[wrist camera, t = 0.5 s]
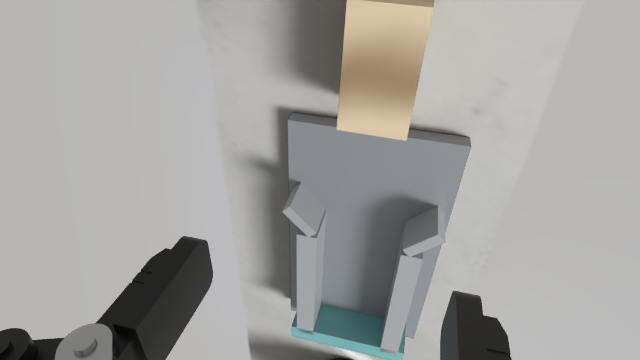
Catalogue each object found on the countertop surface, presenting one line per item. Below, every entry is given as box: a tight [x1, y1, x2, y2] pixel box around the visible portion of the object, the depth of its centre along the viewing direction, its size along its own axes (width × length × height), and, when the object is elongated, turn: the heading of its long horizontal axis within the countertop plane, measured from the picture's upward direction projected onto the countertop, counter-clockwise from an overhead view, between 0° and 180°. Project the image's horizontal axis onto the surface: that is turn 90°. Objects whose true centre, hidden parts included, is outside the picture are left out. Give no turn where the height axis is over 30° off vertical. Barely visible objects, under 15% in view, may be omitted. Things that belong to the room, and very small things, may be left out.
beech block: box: [337, 0, 434, 141], centre depth 22 cm, size 7×4×4 cm, turn 177°
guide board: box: [282, 113, 471, 360], centre depth 31 cm, size 21×12×4 cm, turn 178°
